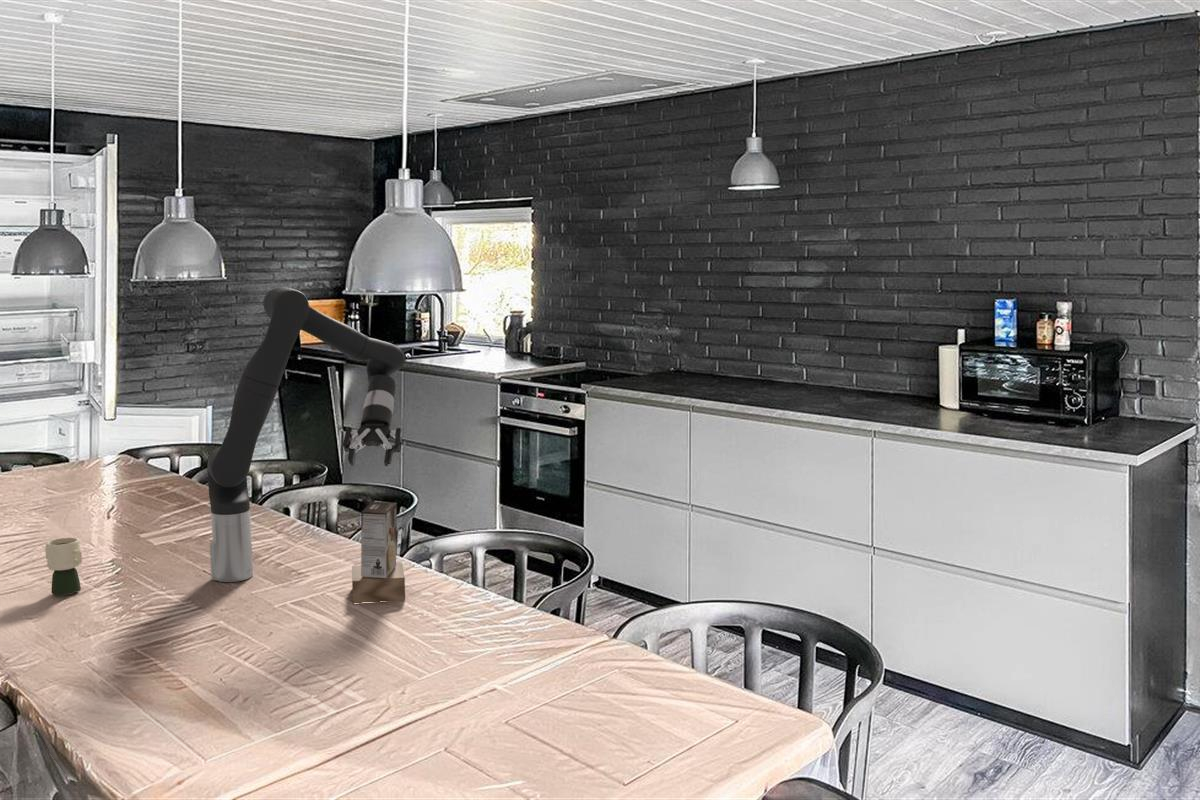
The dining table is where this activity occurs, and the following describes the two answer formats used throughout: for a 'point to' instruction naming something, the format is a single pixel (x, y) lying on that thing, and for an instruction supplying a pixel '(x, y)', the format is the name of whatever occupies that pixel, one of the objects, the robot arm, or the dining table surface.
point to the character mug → (64, 564)
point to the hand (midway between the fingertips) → (369, 464)
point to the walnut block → (378, 586)
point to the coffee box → (378, 539)
